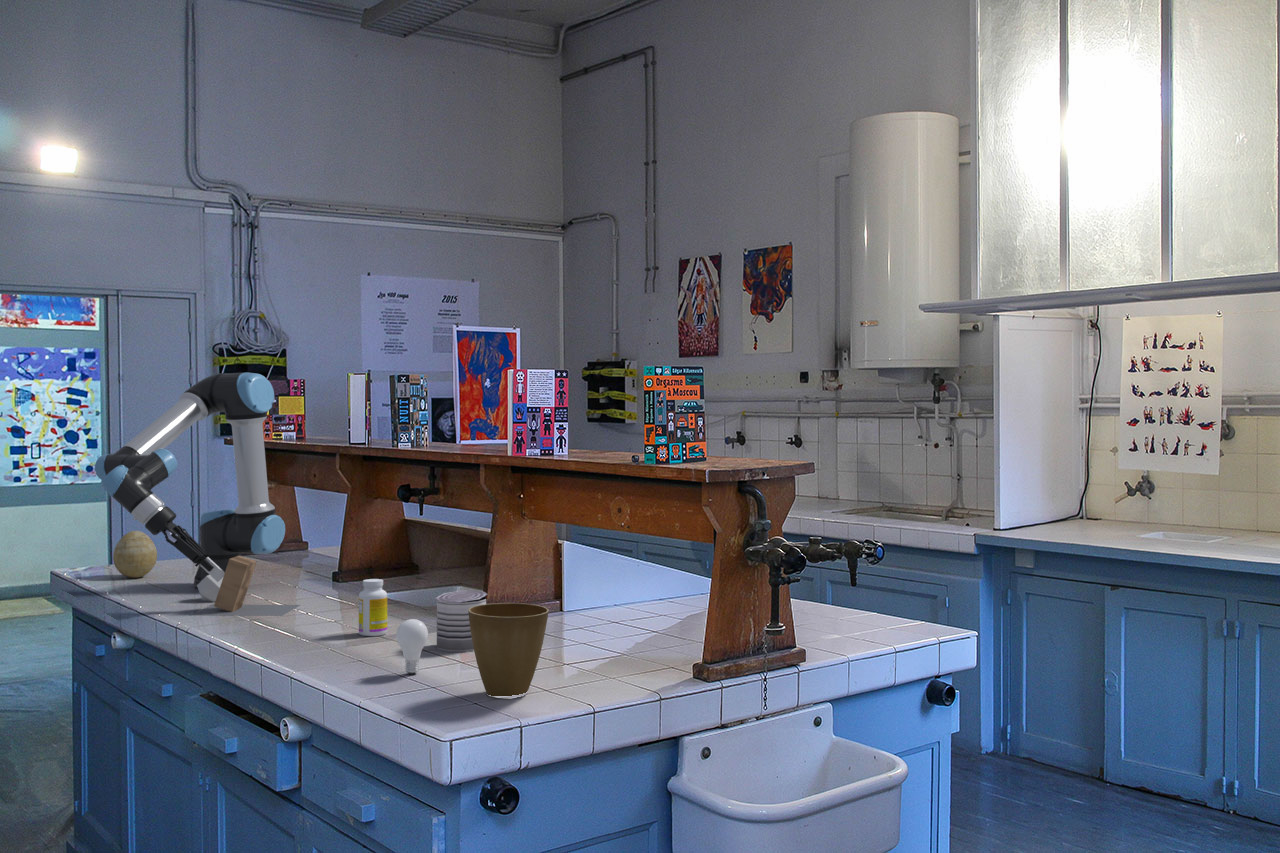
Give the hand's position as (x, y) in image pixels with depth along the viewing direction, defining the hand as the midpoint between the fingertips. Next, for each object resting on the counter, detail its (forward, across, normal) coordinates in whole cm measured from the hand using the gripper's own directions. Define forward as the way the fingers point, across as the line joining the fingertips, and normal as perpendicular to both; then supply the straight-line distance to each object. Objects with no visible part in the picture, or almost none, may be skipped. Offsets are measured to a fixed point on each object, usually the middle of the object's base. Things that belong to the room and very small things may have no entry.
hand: (221, 577), depth 284 cm
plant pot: (+55, +97, +42) cm, 120 cm away
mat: (+11, +1, -2) cm, 11 cm away
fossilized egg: (-21, -68, -34) cm, 79 cm away
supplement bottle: (+35, +36, +22) cm, 55 cm away
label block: (+7, 0, -4) cm, 8 cm away
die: (+3, -16, -10) cm, 20 cm away
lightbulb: (+43, +78, +30) cm, 94 cm away
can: (+50, +54, +37) cm, 82 cm away
